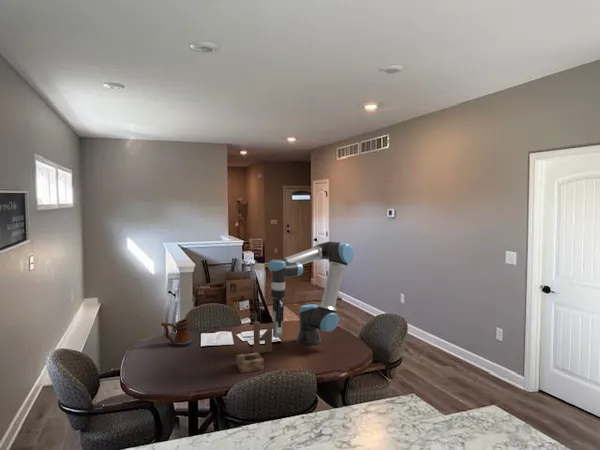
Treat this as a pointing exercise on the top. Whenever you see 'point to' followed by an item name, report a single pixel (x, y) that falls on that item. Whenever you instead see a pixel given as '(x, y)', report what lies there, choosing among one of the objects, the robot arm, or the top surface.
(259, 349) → the brown braced frame
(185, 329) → the mug
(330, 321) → the robot arm
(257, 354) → the socket block
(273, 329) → the peg
